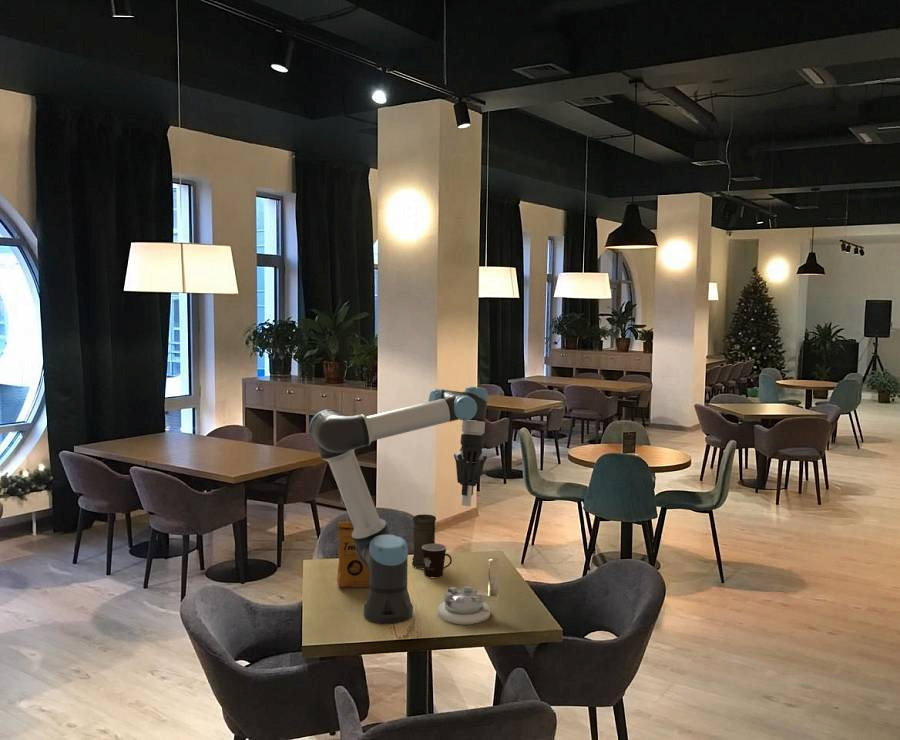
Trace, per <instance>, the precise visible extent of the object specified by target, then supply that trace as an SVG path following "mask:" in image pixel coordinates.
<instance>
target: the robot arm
mask: <svg viewBox="0 0 900 740" xmlns="http://www.w3.org/2000/svg"><path fill="white" fill-rule="evenodd" d="M487 406H488V389H487V388H484V387H477V386H466V387H465V390H464V391H457V390H449V389H443V388H442V389H440V388H438V389H437V388H435V389H432V390H431V392H430V393H429V396H428V401H427V402H423V403H419V404H413V405H410V406H409V405H408V406H405V407H402V408H397V409H393V410H388V411H384V412H379V413H376V414H371V415H367V416H366V415H364V414H356V415H344V414H342V412H340V411H339V410H335V409H324V410H320V411H319V412H317V413H316V414H315V415H314V416H313V417H312V418H311V420H310V423H309V427H308V428H309V436H310V438H311V439H312V440H313V442H314V443H315V445H316V448H317V451H318V453H319V455H320V458H321V460H324V461H326V462H328V465H329V469H330V471H331V473H332V476H333V478H334V480H335V482H336V486H337V489H338V490H339V493H340V495H341V498H342V501H343V503H344V506H345V509H346V512H347V514H348V516H349V519H350V522H352V524H353V527H354V530H353V532H352V537H353V540H354V542H355V549H356V553H357V555H358V557H359V558H360V560H361V561H362V562H364V564H365V565H366V566H367V567H368V569H369V584H370V585H369V587H368V588H369V590H368V593H367V596H366V601H365V604H364V606H363V617H364V619H366V620H368V621H370V622H372V623H373V622H374V623H378V624H397V623H401V622H405V621H407V620H409V619H411V618H412V617H413V616H414V615H413V614H414V606H413V604H412V601H411V597H410V594H409V591H408V565H409V564H408V563H409V562H408V557H409V549H408V544H407V542H406V539H404V538H403V537H401V536H397V535H394V534H391V532H390V529H389V527H388V525H387V522H386V520H385V519H382V518H380V517H379V513H378V511H377V509H376V506H375V503H374V501H373V498H372V496H371V493H370V491H369V488H368V485H367V482H366V480H365V477H364V475H363V472H362V469H361V467H360V463H359V461H358V458H357V457H356V453H355V450H357V449H360V448H363V447H364V448H365V447H368V446H370V445H371V444H372V442H374V441H377V440H382V439H386V438H390V437H393V436H398V435H401V434H405V433H406V434H407V433H409V432H415V431H417V430H421V429H422V430H423V429H425V428H430V427H433V426H438V425H441V424H446V423H451V422H454V421H457V420H460V421H461V422H462V424H461V432H462V433H461V435H460V445H461V446H460V447H461V448H460V449H459V452H458V453H454V455H453V457H454V459H455V466H456V467H455V468H456V479H457V483H458V484H460V486H461V496H462V498H461V506H465V507H471V506H472V496H473V494H474V487H476V486H477V485H479V483H480V480H481V476H482V473H483V469H484V466H485V462H486V460H487V459H488V456H487V455H484V454H483V450H482V447H484V438H485V437H484V435H483V434H485V429H486V428H485V427H486V426H485V425H486V415H487Z"/></svg>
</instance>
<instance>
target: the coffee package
mask: <svg viewBox="0 0 900 740" xmlns="http://www.w3.org/2000/svg"><path fill="white" fill-rule="evenodd" d="M337 523H338V524H337V529H338V541H339V543H338V545H339V546H338V551H337V554H338V566H337V575H336V576H337V578H336V583H337V586H338V587H339V588H340V587H343V588H369V585H370V584H369V569H368V567H367V566H366V565H365V564H364V562H362V561H361V560H360V558H359V557H358V555H357V553H356V549H355V542H354V540H353V537H352V532H353V530H354V527H353V524H352V522H351V521H338V522H337Z"/></svg>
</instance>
